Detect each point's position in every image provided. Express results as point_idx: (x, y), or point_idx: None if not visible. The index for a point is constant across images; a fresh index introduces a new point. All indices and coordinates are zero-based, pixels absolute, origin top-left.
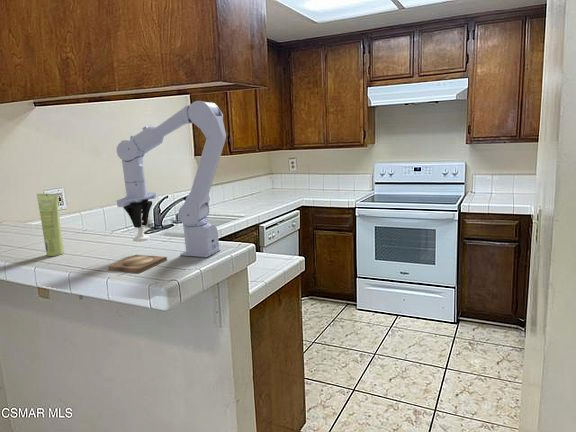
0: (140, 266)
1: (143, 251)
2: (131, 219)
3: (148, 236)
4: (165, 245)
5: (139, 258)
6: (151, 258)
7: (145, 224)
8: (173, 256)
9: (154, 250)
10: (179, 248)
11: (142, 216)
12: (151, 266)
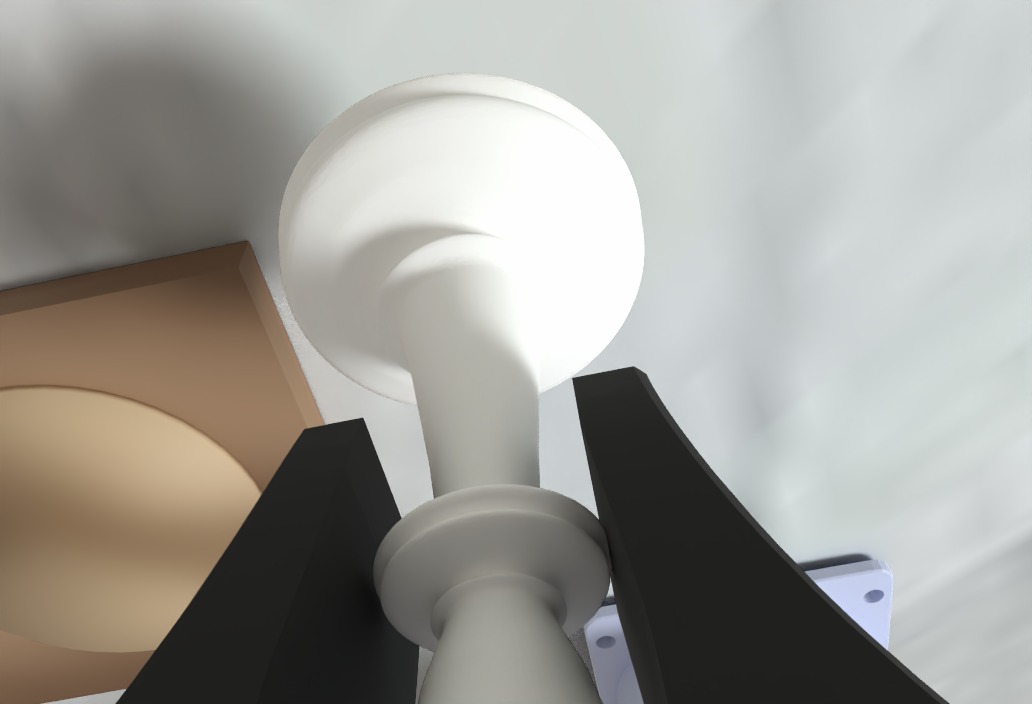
0: (21, 667)
1: (557, 15)
2: (179, 638)
3: (579, 364)
4: (995, 73)
5: (148, 483)
6: None
7: None
8: None
9: (673, 153)
10: (859, 400)
11: (649, 699)
12: None
